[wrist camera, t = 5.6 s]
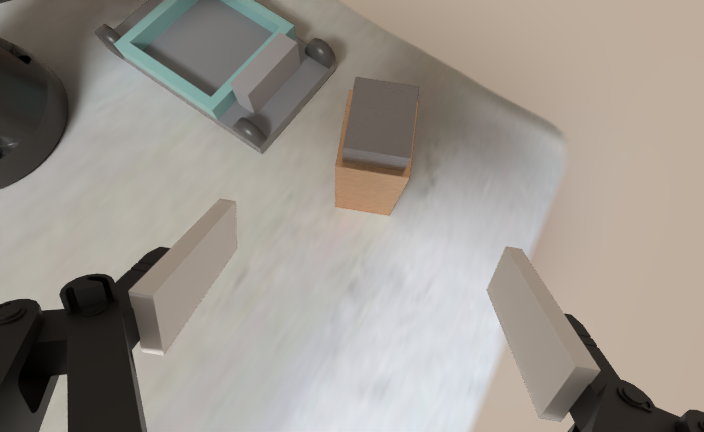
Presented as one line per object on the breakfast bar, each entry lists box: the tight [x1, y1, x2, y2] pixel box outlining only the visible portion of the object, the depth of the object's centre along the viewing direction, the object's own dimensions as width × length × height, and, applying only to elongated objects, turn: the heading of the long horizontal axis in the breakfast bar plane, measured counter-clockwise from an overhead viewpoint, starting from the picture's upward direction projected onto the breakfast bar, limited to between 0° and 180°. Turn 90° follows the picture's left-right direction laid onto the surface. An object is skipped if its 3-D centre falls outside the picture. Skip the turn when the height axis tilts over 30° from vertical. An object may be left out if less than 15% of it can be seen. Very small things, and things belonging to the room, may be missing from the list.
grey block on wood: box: [335, 77, 419, 216], centre depth 27 cm, size 5×6×11 cm
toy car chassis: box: [95, 0, 336, 154], centre depth 33 cm, size 20×12×4 cm, turn 55°
